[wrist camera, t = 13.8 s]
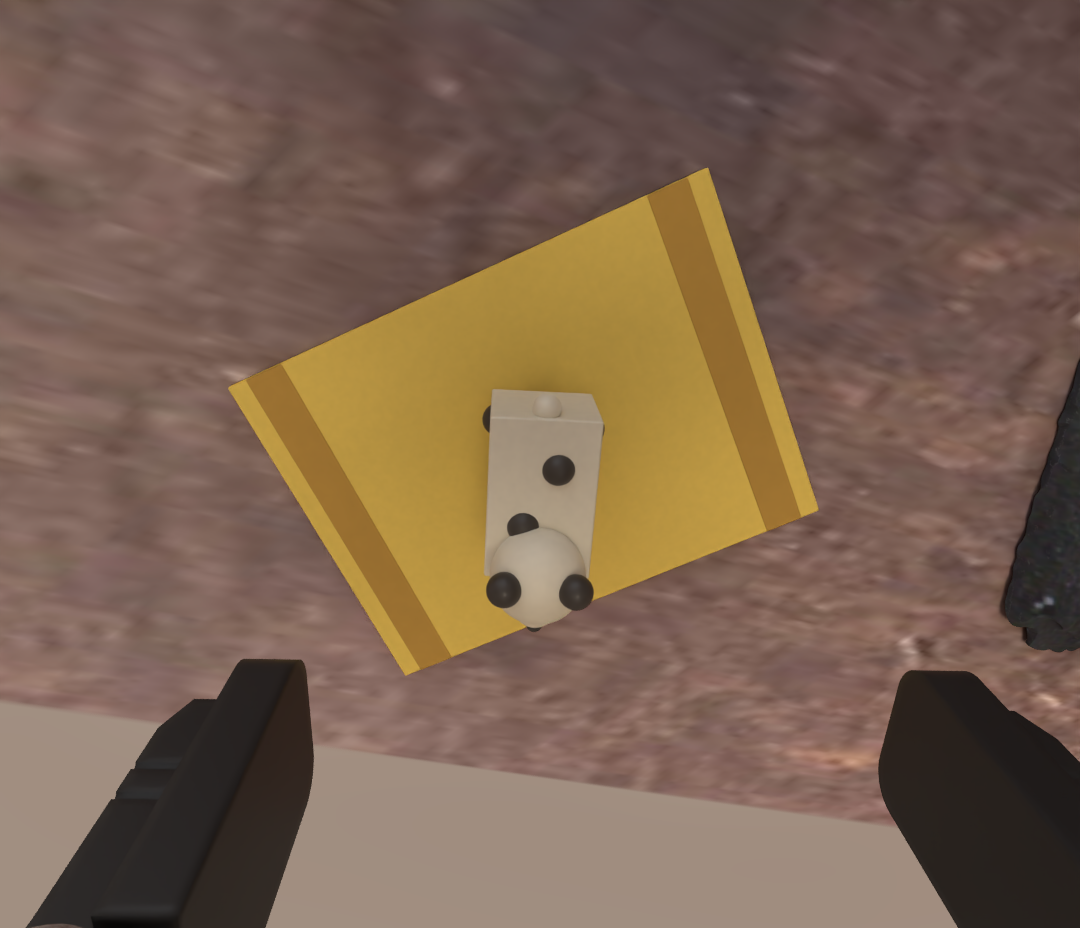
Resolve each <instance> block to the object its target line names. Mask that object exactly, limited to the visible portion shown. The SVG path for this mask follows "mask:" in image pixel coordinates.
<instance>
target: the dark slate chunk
mask: <svg viewBox="0 0 1080 928" xmlns="http://www.w3.org/2000/svg"><path fill="white" fill-rule="evenodd" d="M1058 425H1059V429H1058V433H1057V436H1056V438H1055V441H1054V444H1053V447H1052V449H1051V451H1050V453H1049V457H1048V462H1047V465H1046V468H1045V470H1044V472H1043V475H1042V478H1041V489H1040V491H1039V492H1038V493H1037V495H1036V496H1035V498H1034V502H1033V508H1032V512H1031V515H1030V517H1029V519H1028V523H1027V529H1026V534H1025V537H1024V539H1023V541H1022V542H1021V543H1020V544H1019V546H1018V548H1017V559H1016V561H1015V563H1014V566H1013V578H1012V581H1011V583H1010V585H1009V588H1008V593H1007V596H1006V599H1005V611H1006V615H1007V618H1008V620H1009V622H1010V623H1011V624H1012V625H1013V626H1016V627H1027V640H1026V643H1027V645H1029V646H1030V647H1032V648H1034V649H1037V650H1047V649H1051V650H1052V651H1055V652H1062V651H1064V650H1066V649H1067V650H1069V651H1074V650H1076V649H1078V648H1080V363H1079V365H1078V368H1077V372H1076V376H1075V380H1074V386H1073V389H1072V391H1071V393H1070V395H1069V397H1068V400H1067V403H1066V406H1065V409H1064V411H1063V413H1062V415H1061V417H1060V419H1059V421H1058Z"/></svg>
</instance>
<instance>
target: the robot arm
mask: <svg viewBox="0 0 1080 928" xmlns="http://www.w3.org/2000/svg"><path fill="white" fill-rule="evenodd" d="M313 762H314V754H313V741H312V729H311V718H310V707H309V696H308V685H307V675H306V669H305V665H304V663H303V661H302V660H282V659H242V660H241V661H240V662H239V663H238V664H237V665H236V667H235V669H234V670H233V672H232V674H231V675H230V677H229V679H228V681H227V682H226V684H225V686H224V687H223V689H222V691H221V693H220V694H219V696H218V698H217V699H194V700H192V701H191V702H190V703H189V704H187V705H186V706H185V707H184V708H182V709H181V710H180V711H179V712H177V713H176V714H175V715H174V716H172V717H171V718H170V719H169V720H167V721H166V722H165V723H164V724H162V725H161V726H160V727H159V728H158V729H157V730H156V732H155V733H154V735H153V736H152V738H151V739H150V741H149V743H148V744H147V746H146V747H145V749H144V750H143V752H142V753H141V755H140V756H139V758H138V759H137V761H136V766H135V768H134V769H131V770H130V771H129V773H128V774H127V776H126V777H125V779H124V780H123V782H122V784H121V785H120V787H119V788H118V790H117V791H116V797H115V799H111V800H110V802H109V803H108V805H107V806H106V808H105V810H104V811H103V812H102V814H101V815H100V817H99V819H98V820H97V821H96V823H95V824H94V826H93V827H92V829H91V831H90V832H89V834H88V835H87V837H86V838H85V840H84V841H83V843H82V844H81V846H80V847H79V849H78V850H77V852H76V853H75V855H74V856H73V858H72V859H71V861H70V862H69V864H68V865H67V867H66V868H65V870H64V872H63V873H62V875H61V876H60V878H59V879H58V881H57V882H56V884H55V885H54V887H53V888H52V890H51V891H50V893H49V894H48V896H47V898H46V899H45V901H44V902H43V904H42V905H41V906H40V908H39V909H38V911H37V913H36V914H35V916H34V917H33V919H32V920H31V921H30V923H29V924H28V925H27V927H26V928H265V927H266V924H267V921H268V918H269V915H270V912H271V909H272V906H273V903H274V901H275V898H276V895H277V892H278V889H279V886H280V883H281V880H282V877H283V874H284V871H285V868H286V865H287V862H288V859H289V856H290V853H291V850H292V847H293V844H294V841H295V838H296V835H297V832H298V829H299V826H300V823H301V821H302V817H303V815H304V811H305V808H306V806H307V802H308V799H309V794H310V789H311V784H312V776H313ZM878 772H879V783H880V788H881V792H882V796H883V799H884V802H885V804H886V807H887V809H888V810H889V812H890V814H891V816H892V817H893V819H894V821H895V822H896V824H897V826H898V828H899V829H900V831H901V833H902V834H903V836H904V837H905V839H906V841H907V843H908V844H909V846H910V848H911V849H912V851H913V853H914V854H915V856H916V858H917V859H918V861H919V863H920V864H921V866H922V868H923V869H924V871H925V873H926V874H927V876H928V878H929V880H930V881H931V883H932V885H933V886H934V888H935V890H936V891H937V893H938V895H939V896H940V898H941V899H942V901H943V903H944V905H945V906H946V908H947V910H948V912H949V913H950V915H951V916H952V918H953V920H954V922H955V923H956V925H957V927H958V928H1080V762H1079V761H1078V760H1077V759H1076V758H1075V757H1074V756H1073V755H1072V754H1071V753H1070V752H1069V751H1068V750H1067V749H1066V748H1065V747H1064V746H1063V745H1062V744H1061V743H1060V742H1059V741H1058V740H1057V739H1056V738H1055V737H1053V736H1052V735H1050V734H1049V733H1047V732H1046V731H1044V730H1042V729H1041V728H1039V727H1038V726H1036V725H1035V724H1033V723H1032V722H1030V721H1029V720H1027V719H1026V718H1024V717H1023V716H1021V715H1020V714H1018V713H1017V712H1015V711H1009V710H1008V709H1007V708H1006V707H1005V706H1004V705H1003V704H1002V703H1001V702H1000V701H999V700H998V699H997V697H996V696H995V695H994V694H993V693H992V692H991V691H990V690H989V689H988V688H987V687H986V686H985V685H984V684H983V682H982V681H981V680H980V679H979V678H978V677H976V676H975V675H974V674H972V673H970V672H967V671H921V670H911V671H908V672H907V673H905V674H904V675H903V677H902V678H901V680H900V683H899V686H898V690H897V693H896V697H895V701H894V705H893V709H892V713H891V716H890V720H889V724H888V728H887V732H886V735H885V739H884V743H883V747H882V751H881V754H880V759H879V767H878Z"/></svg>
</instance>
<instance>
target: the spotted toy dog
mask: <svg viewBox="0 0 1080 928" xmlns="http://www.w3.org/2000/svg"><path fill="white" fill-rule="evenodd" d="M482 422H483V426H484V428H485V429H486V430H487V431H488V432H489V433H490V435H489V460H488V485H487V510H486V535H485V560H484V575H485V576H490V579H489V581H488V583H487V586H486V595H487V598H488V600H489V601H490V602H491V603H492V604H493V605H494V606H496V607H498V608H502V609H503V610H504V611H505V612H506V613H507V614H508V615H510V616H511V617H513V618H514V619H516V620H518V621H520V622H521V623H522V624H524V625H525V626H526V627H527V628H528V630H530V631H532V632H536V631H538V630H540V629H541V627H543V626H545V625H547V624H549V623H553V622H555V621H558V620H560V619H562V618H563V617H565V616H566V615H568V614H569V613H570V612H571V611H572V610H575V611H577V610H582V609H584V608H586V607H587V606H588V605H589V604H590V603H591V601H592V599H593V595H594V589H593V586H592V584H591V582H590V581H589V580H588V578H589V571H590V561H591V550H592V540H593V530H594V520H595V510H596V499H597V489H598V479H599V469H600V459H601V448H602V438H603V435H604V431H605V426H604V422H603V420H602V417H601V415H600V413H599V410H598V408H597V405H596V403H595V401H594V398H593V396H592V394H584V393H563V392H543V391H523V390H502V389H493V390H492V398H491V405H490V406H489V407H487V408H486V410H485V411H484V413H483V417H482Z"/></svg>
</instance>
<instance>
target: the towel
mask: <svg viewBox="0 0 1080 928" xmlns="http://www.w3.org/2000/svg"><path fill="white" fill-rule="evenodd" d="M228 389H229V391H230V392H231V394H232V396H233V397H234V399H235V400H236V402H237V404H238V405H239V407H240V409H241V410H242V412H243V413H244V415H245V417H246V418H247V420H248V421H249V423H250V425H251V426H252V428H253V430H254V431H255V433H256V434H257V436H258V438H259V439H260V441H261V443H262V444H263V446H264V447H265V449H266V451H267V452H268V454H269V456H270V457H271V459H272V460H273V462H274V464H275V465H276V467H277V468H278V470H279V472H280V473H281V475H282V477H283V478H284V480H285V481H286V483H287V485H288V486H289V488H290V490H291V491H292V493H293V494H294V496H295V498H296V499H297V501H298V503H299V504H300V506H301V507H302V509H303V511H304V512H305V514H306V515H307V517H308V519H309V520H310V522H311V524H312V525H313V527H314V528H315V530H316V532H317V533H318V535H319V537H320V538H321V540H322V541H323V543H324V545H325V546H326V548H327V549H328V551H329V553H330V554H331V556H332V558H333V559H334V561H335V562H336V564H337V566H338V567H339V569H340V571H341V572H342V574H343V575H344V577H345V579H346V580H347V582H348V584H349V585H350V587H351V588H352V590H353V592H354V593H355V595H356V596H357V598H358V600H359V601H360V603H361V605H362V606H363V608H364V609H365V611H366V613H367V614H368V616H369V618H370V619H371V621H372V622H373V624H374V626H375V627H376V629H377V631H378V632H379V634H380V635H381V637H382V639H383V640H384V642H385V643H386V645H387V647H388V648H389V650H390V652H391V653H392V655H393V656H394V658H395V660H396V661H397V663H398V665H399V666H400V668H401V669H402V671H403V673H404V674H405V675H408V674H411V673H413V672H416V671H418V670H422V669H424V668H427V667H429V666H432V665H434V664H437V663H439V662H442V661H444V660H447V659H449V658H451V657H453V656H456V655H458V654H461V653H463V652H466V651H468V650H471V649H473V648H476V647H478V646H481V645H483V644H486V643H488V642H491V641H493V640H496V639H498V638H501V637H503V636H506V635H508V634H511V633H513V632H516V631H518V630H521V629H523V628H526V626H525V625H524V624H522V623H521V622H520V621H518V620H516V619H514V618H513V617H511V616H510V615H508V614H507V613H506V612H505V611H504V610H503V609H502V608H498V607H496V606H494V605H493V604H492V603H491V602H490V601H489V600H488V598H487V595H486V586H487V583H488V581H489V579H490V576H485V575H484V560H485V535H486V510H487V485H488V460H489V435H490V433H489V432H488V431H487V430H486V429H485V428H484V426H483V422H482V417H483V413H484V411H485V410H486V408H487V407H489V406H490V405H491V398H492V390H493V389H502V390H523V391H543V392H563V393H584V394H592V396H593V398H594V401H595V403H596V405H597V408H598V410H599V413H600V415H601V417H602V420H603V422H604V426H605V431H604V435H603V438H602V448H601V459H600V469H599V479H598V489H597V499H596V510H595V520H594V530H593V540H592V550H591V561H590V571H589V578H588V580H589V581H590V582H591V584H592V586H593V589H594V595H593V599H592V601H593V600H596V599H598V598H601V597H603V596H606V595H608V594H611V593H613V592H616V591H618V590H621V589H623V588H626V587H628V586H631V585H633V584H636V583H638V582H641V581H643V580H646V579H648V578H651V577H653V576H656V575H658V574H661V573H663V572H666V571H668V570H671V569H673V568H676V567H678V566H681V565H683V564H686V563H688V562H691V561H693V560H696V559H698V558H701V557H703V556H706V555H708V554H711V553H713V552H716V551H718V550H721V549H723V548H726V547H728V546H731V545H733V544H736V543H738V542H741V541H743V540H746V539H748V538H751V537H753V536H756V535H758V534H761V533H763V532H766V531H769V530H772V529H774V528H777V527H780V526H782V525H785V524H787V523H790V522H792V521H795V520H797V519H800V518H801V517H803V516H806V515H808V514H811V513H813V512H816V511H818V510H819V509H818V506H817V503H816V500H815V497H814V494H813V490H812V487H811V484H810V481H809V478H808V475H807V472H806V469H805V466H804V463H803V460H802V456H801V453H800V450H799V447H798V444H797V441H796V438H795V435H794V432H793V429H792V426H791V422H790V419H789V416H788V413H787V410H786V407H785V404H784V401H783V398H782V395H781V392H780V389H779V385H778V382H777V379H776V376H775V373H774V370H773V367H772V364H771V361H770V358H769V355H768V351H767V348H766V345H765V342H764V339H763V336H762V333H761V330H760V327H759V324H758V321H757V317H756V314H755V311H754V308H753V305H752V302H751V299H750V296H749V293H748V290H747V287H746V283H745V280H744V277H743V274H742V271H741V268H740V265H739V262H738V259H737V256H736V253H735V249H734V246H733V243H732V240H731V237H730V234H729V231H728V228H727V225H726V222H725V219H724V215H723V212H722V209H721V206H720V203H719V200H718V197H717V194H716V191H715V188H714V185H713V181H712V178H711V175H710V172H709V169H708V168H704V169H702V170H700V171H698V172H696V173H693V174H691V175H689V176H687V177H685V178H683V179H680V180H678V181H676V182H674V183H672V184H669V185H667V186H665V187H663V188H661V189H659V190H656V191H654V192H652V193H650V194H648V195H645V196H643V197H641V198H639V199H637V200H635V201H632V202H630V203H628V204H626V205H624V206H621V207H619V208H617V209H615V210H613V211H611V212H608V213H606V214H604V215H602V216H600V217H597V218H595V219H593V220H591V221H589V222H587V223H584V224H582V225H580V226H578V227H576V228H574V229H571V230H569V231H567V232H565V233H563V234H560V235H558V236H556V237H554V238H552V239H550V240H547V241H545V242H543V243H541V244H539V245H536V246H534V247H532V248H530V249H528V250H526V251H523V252H521V253H519V254H517V255H515V256H512V257H510V258H508V259H506V260H504V261H502V262H499V263H497V264H495V265H493V266H491V267H488V268H486V269H484V270H482V271H480V272H478V273H475V274H473V275H471V276H469V277H467V278H464V279H462V280H460V281H458V282H456V283H454V284H451V285H449V286H447V287H445V288H443V289H441V290H438V291H436V292H434V293H432V294H430V295H427V296H425V297H423V298H421V299H419V300H417V301H414V302H412V303H410V304H408V305H406V306H403V307H401V308H399V309H397V310H395V311H393V312H390V313H388V314H386V315H384V316H382V317H379V318H377V319H375V320H373V321H371V322H369V323H366V324H364V325H362V326H360V327H358V328H355V329H353V330H351V331H349V332H347V333H345V334H342V335H340V336H338V337H336V338H334V339H331V340H329V341H327V342H325V343H323V344H321V345H318V346H316V347H314V348H312V349H310V350H307V351H305V352H303V353H301V354H299V355H297V356H294V357H292V358H290V359H288V360H286V361H284V362H281V363H279V364H277V365H275V366H273V367H270V368H268V369H266V370H264V371H262V372H260V373H257V374H255V375H253V376H251V377H249V378H246V379H244V380H242V381H240V382H238V383H236V384H233V385H231V386H230V387H229V388H228Z"/></svg>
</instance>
